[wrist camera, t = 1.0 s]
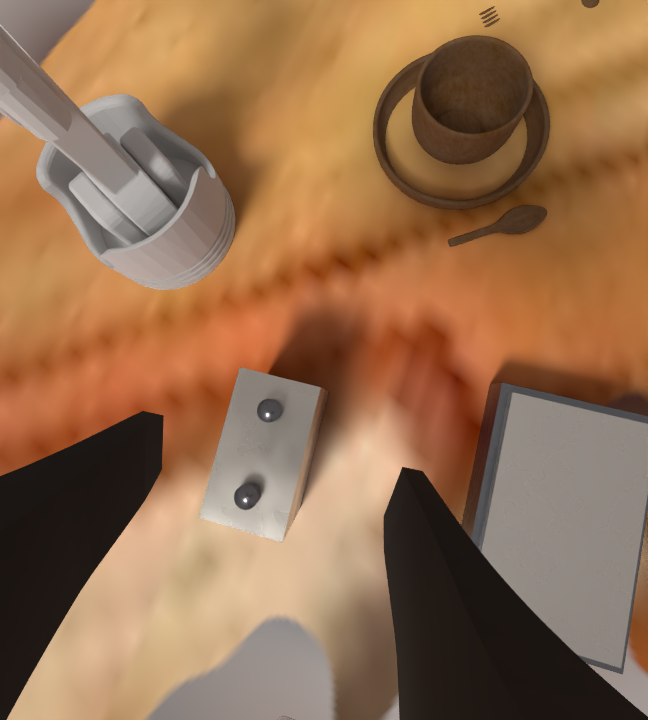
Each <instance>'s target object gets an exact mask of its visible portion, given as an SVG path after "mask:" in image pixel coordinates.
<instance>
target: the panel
mask: <svg viewBox="0 0 648 720" xmlns="http://www.w3.org/2000/svg"><path fill="white" fill-rule="evenodd" d="M647 511H648V416H644V415H640V414H635V413H631V412H627V411H623V410H618V409H614V408H610V407H605V406H601V405H597V404H593V403H588V402H584V401H580V400H575V399H571V398H567V397H562V396H558V395H554V394H550V393H545V392H541V391H537V390H532V389H528V388H524V387H519V386H515V385H511V384H506V383H495V384H490V386H489V391H488V396H487V401H486V406H485V411H484V416H483V421H482V426H481V431H480V436H479V441H478V446H477V451H476V456H475V461H474V466H473V471H472V476H471V481H470V486H469V491H468V496H467V501H466V505H465V510H464V515H463V520H462V525H461V527H462V528H463V529H464V531H465V532H466V533H467V535H468V536H469V537H470V539H471V540H472V541H473V542H474V544H475V545H476V546H477V548H478V549H479V550H480V551H481V553H482V554H483V555H484V556H485V558H486V559H487V560H488V561H489V563H490V564H491V565H492V566H493V567H494V569H495V570H496V571H497V572H498V573H499V575H500V576H501V577H502V578H503V579H504V580H505V581H506V583H507V584H508V585H509V586H510V587H511V588H512V589H513V590H514V591H515V592H516V594H517V595H518V596H519V597H520V598H521V599H522V600H523V601H524V602H525V603H526V605H527V606H528V607H529V608H530V609H531V610H532V611H533V612H534V613H535V614H536V615H537V616H538V617H539V618H540V619H541V620H542V621H543V622H544V623H545V624H546V625H547V626H548V627H549V628H550V629H551V630H552V631H553V632H554V633H555V634H556V635H557V636H558V637H559V638H560V639H561V640H562V641H563V642H564V643H565V644H566V645H567V646H568V647H569V648H570V649H571V650H572V651H574V652H575V653H576V654H577V655H578V656H579V657H580V658H581V659H582V660H583V661H584V662H585V663H588V664H591V665H594V666H597V667H601V668H604V669H607V670H610V671H614V672H617V673H620V674H623V669H624V662H625V656H626V649H627V643H628V636H629V630H630V623H631V616H632V610H633V603H634V597H635V590H636V583H637V577H638V570H639V564H640V557H641V550H642V544H643V537H644V531H645V524H646V518H647Z"/></svg>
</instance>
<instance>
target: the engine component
mask: <svg viewBox="0 0 648 720" xmlns="http://www.w3.org/2000/svg"><path fill="white" fill-rule="evenodd" d="M0 113H1V114H3V115H4V116H6V117H7V118H9V119H10V120H12V121H13V122H15V123H16V124H18V125H20V126H22V127H24V128H27V129H28V130H29V131H30V132H31V133H33V134H34V135H35V136H36V137H38V138H39V139H42V140H46V141H47V142H46V144H45V146H44V148H43V150H42V152H41V154H40V158H39V161H38V164H37V168H36V172H37V179H38V181H39V183H40V185H41V186H42V188H43V189H44V190H45V191H47V192H48V193H49V194H51V195H52V196H54V197H55V198H56V199H57V200H58V201H59V202H60V203H61V204H62V206H63V207H64V208H65V209H66V211H67V212H68V214H69V215H70V217H71V218H72V220H73V222H74V223H75V225H76V227H77V229H78V230H79V232H80V234H81V236H82V237H83V239H84V241H85V243H86V244H87V246H88V248H89V249H90V251H91V252H92V253H93V254H94V255H95V257H96V258H98V259H99V260H100V261H101V262H102V263H103V264H105V265H106V266H108V267H110V268H112V269H113V270H115V271H117V272H119V273H121V274H122V275H124V276H126V277H128V278H129V279H131V280H133V281H135V282H137V283H139V284H141V285H143V286H146V287H149V288H153V289H160V290H170V289H178V288H182V287H186V286H189V285H191V284H194V283H196V282H198V281H200V280H202V279H203V278H204V277H206V276H207V275H208V274H210V273H211V272H212V271H213V270H214V269H215V268H216V267H217V266H218V265H219V264H220V263H221V262H222V260H223V258H224V257H225V255H226V254H227V252H228V250H229V248H230V246H231V243H232V240H233V237H234V233H235V222H236V218H235V210H234V206H233V203H232V200H231V197H230V195H229V193H228V191H227V190H226V188H225V186H224V185H223V183H222V181H221V180H220V178H219V176H218V175H217V173H216V171H215V169H214V168H213V166H212V165H211V163H210V162H209V160H208V159H207V158H206V156H205V155H204V154H202V153H201V152H200V151H199V150H198V149H197V148H196V147H194V146H193V145H191V144H190V143H188V142H187V141H185V140H184V139H182V138H181V137H179V136H178V135H176V134H175V133H173V132H172V131H171V130H169V129H168V128H166V127H165V126H164V125H162V124H161V123H160V122H159V121H157V120H156V119H155V118H154V117H153V116H152V115H151V114H150V113H149V111H148V110H147V109H146V107H145V106H144V104H143V103H142V102H141V101H139V100H138V99H137V98H135V97H133V96H131V95H126V94H117V95H111V96H105V97H102V98H99V99H96V100H94V101H92V102H90V103H87V104H85V105H83V106H82V107H80V108H78V107H77V106H76V105H75V104H74V103H73V101H72V100H71V99H70V98H69V97H68V96H67V95H66V94H65V93H64V92H63V91H62V90H61V89H60V88H59V86H58V85H57V84H56V83H55V82H54V81H53V80H52V79H51V78H50V77H49V76H48V75H47V74H46V73H45V71H44V70H43V69H42V68H41V67H40V66H39V65H38V64H37V63H36V62H35V61H34V60H33V59H32V58H31V56H30V55H29V54H28V53H27V52H26V51H25V50H24V49H23V48H22V47H21V46H20V45H19V44H18V43H17V41H16V40H15V39H14V38H13V37H12V36H11V35H10V34H9V33H8V32H7V31H6V29H5V28H4V27H3V26H2V25H1V24H0Z"/></svg>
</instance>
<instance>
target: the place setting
mask: <svg viewBox="0 0 648 720" xmlns="http://www.w3.org/2000/svg"><path fill="white" fill-rule="evenodd" d="M598 3H599V0H582V4H583V5H584V6H585V7H588V8H593V7H595V6H597V5H598ZM494 7H495V6H494ZM494 7H491V8H489V9H487V10H486V11H484V12H482V13H480V14H479V15H483V14H485V13H486V12H488V11H490V10H491V9H492V8H494ZM494 12H495V11H493V12H491V13H489V14H487V15H486V16H484V17H482V18H481V19H484V18H486V17H488V16H490V15H491V14H493V13H494ZM496 16H497V15H495V16H493V17H491V18H489V19H487V20H486V21H484V22H483V23H486V22H488V21H490V20H492V19H493V18H495V17H496ZM498 20H499V19H497V20H495V21H493V22H491V23H489V24H487V25H486V26H484V27H488V26H490V25H492V24H493V23H495V22H496V21H498ZM415 87H416V88H415ZM413 88H415V93H414V99H413V106H412V125H413V130H414V134H415V136H416V138H417V140H418V142H419V144H420V145H421V147H422V148H423V149H424V150H425V151H426V152H427V153H428V154H429V155H431V156H432V157H434V158H436V159H437V160H439V161H442V162H445V163H449V164H457V165H458V164H470V163H474V162H478V161H480V160H483V159H485V158H486V157H488V156H490V155H491V154H493V153H494V152H496V151H497V150H498V149H499V148H500V147H501V146H502V145H503V144H504V143H505V142H506V141H507V139H508V138H509V137H510V135H511V134H512V132H513V131H514V129H515V128H516V126H517V124H518V123H519V121H520V119H521V118H522V116H524V119H525V122H526V127H527V146H526V151H525V154H524V157H523V159H522V162H521V164H520V166H519V167H518V169H517V170H516V172H515V173H514V174H513V176H512V177H511V178H510V179H509V180H508V181H507V182H506V183H505V184H504V185H502V186H501V187H499V188H498V189H497V190H495V191H493V192H491V193H489V194H487V195H485V196H482V197H480V198H476V199H470V200H448V199H441V198H437V197H433V196H430V195H427V194H425V193H422V192H420V191H418V190H416V189H414V188H413V187H411V186H410V185H408V184H407V183H406V182H404V181H403V180H402V179H401V178H400V177H399V176H398V175H397V174H396V172H395V171H394V169H393V167H392V166H391V164H390V161H389V159H388V156H387V152H386V145H385V133H386V127H387V124H388V120H389V118H390V115H391V113H392V111H393V110H394V108H395V107H396V105H397V103H398V102H399V101H400V100H401V99H402V98H403V97H404V96H405V95H406V94H407V93H408V92H409V91H410V90H412V89H413ZM549 130H550V119H549V112H548V106H547V103H546V101H545V98H544V95H543V93H542V92H541V90H540V88H539V86H538V85H537V83H536V82H535V81H534V79H533V77H532V73H531V70H530V67H529V65H528V63H527V61H526V60H525V59H524V57H523V56H522V55H521V54H520V53H519V52H518V51H517V50H516V49H515V48H514V47H513V46H511V45H509V44H508V43H506V42H504V41H502V40H499V39H496V38H493V37H488V36H479V35H475V36H466V37H461V38H457V39H454V40H452V41H449V42H447V43H445V44H443V45H442V46H440V47H439V48H437V49H436V50H435V51H434V52H433V53H431V54H428V55H426V56H423V57H421V58H419V59H417V60H415V61H414V62H412V63H410V64H409V65H408V66H406V67H405V68H403V69H402V70H401V71H400V72H399V73H398V74H397V75H396V76H395V77H394V78H393V79H392V80H391V81H390V83H389V84H388V85H387V87H386V88H385V90H384V91H383V93H382V95H381V97H380V99H379V101H378V104H377V107H376V110H375V116H374V122H373V138H374V146H375V150H376V154H377V157H378V160H379V162H380V165H381V167H382V168H383V170H384V172H385V173H386V175H387V176H388V178H389V179H390V180H391V181H392V182H393V184H394V185H395V186H397V187H398V188H399V189H400V190H401V191H402V192H404V193H405V194H406V195H408V196H409V197H411V198H413V199H415V200H417V201H418V202H421V203H424V204H426V205H429V206H433V207H437V208H443V209H468V208H475V207H479V206H483V205H486V204H488V203H491V202H494V201H496V200H498V199H500V198H502V197H504V196H505V195H507V194H508V193H510V192H511V191H513V190H514V189H515V188H517V187H518V186H519V185H520V184H521V183H522V182H523V181H524V180H525V179H526V178H527V177H528V176H529V175H530V174H531V172H532V171H533V170H534V169H535V167H536V166H537V164H538V163H539V161H540V159H541V158H542V155H543V153H544V151H545V148H546V145H547V141H548V138H549ZM546 215H547V210H546V209H545V208H543V207H540V206H534V205H524V206H519V207H516V208H514V209H512V210H510V211H509V212H507V213H506V214H505V215H504V216H503V217H502V218H501V219H500V220H499V221H498V222H497V223H495V224H494V225H491V226H489V227H486V228H484V229H481V230H478V231H474V232H471V233H468V234H465V235H461V236H458V237H455V238H452V239H449V240H448V243H449V246H450V247H452V246H456V245H459V244H462V243H465V242H468V241H470V240H473V239H476V238H478V237H481V236H484V235H487V234H491V233H495V232H502V233H507V234H520V233H525V232H528V231H530V230H532V229H534V228H535V227H536V226H538V225H539V224H540V223H541V222H542V221H543V220H544V219H545V217H546Z"/></svg>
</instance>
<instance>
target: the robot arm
mask: <svg viewBox="0 0 648 720" xmlns="http://www.w3.org/2000/svg"><path fill="white" fill-rule="evenodd" d="M162 446H163V415H159V414H154V413H149V412H145V411H142V412H140V413H138V414H136V415H133V416H131V417H129V418H127V419H125V420H123V421H121V422H119V423H117V424H115V425H113V426H111V427H109V428H107V429H105V430H103V431H101V432H99V433H97V434H95V435H93V436H91V437H89V438H87V439H85V440H83V441H81V442H78V443H76V444H74V445H72V446H70V447H68V448H66V449H63V450H61V451H59V452H57V453H54V454H52V455H50V456H48V457H45V458H43V459H41V460H38V461H36V462H34V463H32V464H29V465H27V466H25V467H22V468H20V469H17V470H15V471H12V472H10V473H7V474H5V475H2V476H0V720H6V719H7V718H8V716H9V714H10V712H11V710H12V709H13V707H14V705H15V703H16V701H17V699H18V698H19V696H20V694H21V692H22V690H23V688H24V687H25V685H26V683H27V681H28V679H29V678H30V676H31V674H32V672H33V671H34V669H35V667H36V666H37V664H38V662H39V660H40V659H41V657H42V655H43V653H44V652H45V650H46V648H47V646H48V645H49V643H50V641H51V639H52V638H53V636H54V634H55V633H56V631H57V629H58V628H59V626H60V624H61V623H62V621H63V619H64V618H65V616H66V614H67V613H68V611H69V609H70V608H71V606H72V604H73V603H74V601H75V599H76V598H77V596H78V594H79V593H80V591H81V590H82V588H83V587H84V585H85V584H86V582H87V581H88V579H89V578H90V576H91V575H92V573H93V572H94V570H95V569H96V568H97V566H98V565H99V564H100V562H101V561H102V559H103V558H104V557H105V555H106V554H107V553H108V551H109V550H110V548H111V547H112V546H113V544H114V543H115V542H116V540H117V539H118V537H119V536H120V535H121V533H122V532H123V530H124V529H125V528H126V526H127V525H128V524H129V522H130V521H131V519H132V518H133V517H134V515H135V514H136V512H137V511H138V510H139V508H140V507H141V505H142V504H143V502H144V501H145V499H146V497H147V496H148V494H149V492H150V490H151V489H152V487H153V485H154V483H155V481H156V479H157V478H158V476H159V474H160V472H161V470H162ZM384 554H385V563H386V571H387V579H388V586H389V594H390V601H391V609H392V616H393V624H394V631H395V640H396V651H397V666H398V688H399V714H400V720H648V717H647V716H646V715H645V714H644V713H642V712H641V711H640V710H639V709H638V708H636V707H635V706H634V705H633V704H632V703H631V702H629V701H628V700H627V699H626V698H625V697H624V696H622V695H621V694H620V693H619V692H618V691H617V690H615V688H613V687H612V686H611V685H610V684H609V683H607V681H605V680H604V679H603V678H602V677H601V676H600V675H599V674H597V673H596V672H595V671H594V670H593V669H592V668H591V667H590V666H589V665H588V664H586V663H585V662H584V661H583V660H582V659H581V658H580V657H579V656H578V655H577V654H576V653H575V652H574V651H572V650H571V649H570V648H569V647H568V646H567V645H566V644H565V643H564V642H563V641H562V640H561V639H560V638H559V637H558V636H557V635H556V634H555V633H554V632H553V631H552V630H551V629H550V628H549V627H548V626H547V625H546V624H545V623H544V622H543V621H542V620H541V619H540V618H539V617H538V616H537V615H536V614H535V613H534V612H533V611H532V610H531V609H530V608H529V607H528V606H527V605H526V603H525V602H524V601H523V600H522V599H521V598H520V597H519V596H518V595H517V594H516V592H515V591H514V590H513V589H512V588H511V587H510V586H509V585H508V584H507V583H506V581H505V580H504V579H503V578H502V577H501V576H500V575H499V573H498V572H497V571H496V570H495V569H494V567H493V566H492V565H491V564H490V563H489V561H488V560H487V559H486V558H485V556H484V555H483V554H482V553H481V551H480V550H479V549H478V548H477V546H476V545H475V544H474V542H473V541H472V540H471V539H470V537H469V536H468V535H467V533H466V532H465V531H464V529H463V528H462V527H461V525H460V524H459V522H458V521H457V520H456V518H455V517H454V516H453V514H452V513H451V511H450V510H449V508H448V507H447V506H446V504H445V503H444V501H443V500H442V498H441V497H440V495H439V494H438V493H437V491H436V490H435V488H434V487H433V485H432V484H431V482H430V481H429V479H428V478H427V477H426V475H425V474H424V472H423V471H419V470H414V469H410V468H405V467H402V470H401V472H400V475H399V478H398V480H397V483H396V486H395V488H394V491H393V494H392V496H391V499H390V501H389V504H388V507H387V509H386V512H385V515H384ZM277 720H294V719H291V718H288V717H285V716H281V717H279V718H278V719H277Z"/></svg>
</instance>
